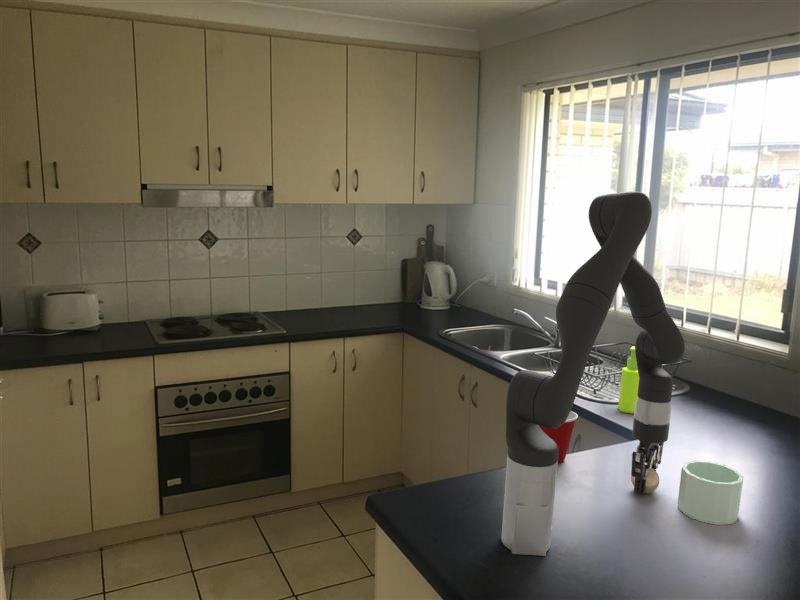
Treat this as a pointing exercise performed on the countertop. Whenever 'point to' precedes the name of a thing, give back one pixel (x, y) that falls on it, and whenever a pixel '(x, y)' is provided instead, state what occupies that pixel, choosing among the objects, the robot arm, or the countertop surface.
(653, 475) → the wooden ball
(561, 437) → the plastic cup
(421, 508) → the countertop surface
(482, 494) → the countertop surface
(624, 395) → the soap dispenser
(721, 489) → the ceramic cup
